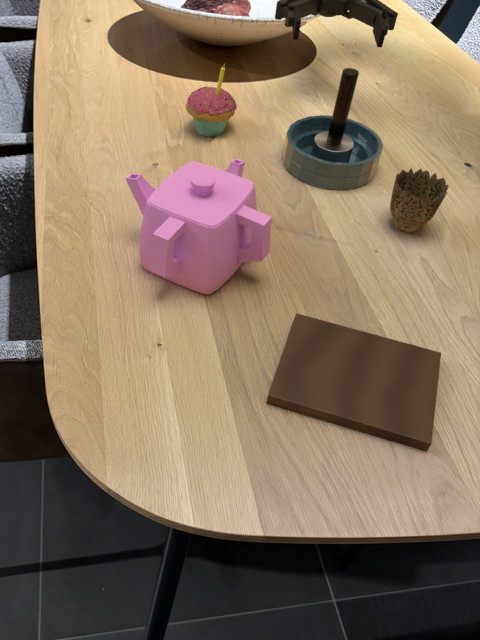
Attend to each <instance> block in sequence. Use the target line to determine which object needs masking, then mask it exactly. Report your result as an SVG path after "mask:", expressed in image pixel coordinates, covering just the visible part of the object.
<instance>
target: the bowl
mask: <svg viewBox="0 0 480 640" xmlns="http://www.w3.org/2000/svg"><path fill="white" fill-rule="evenodd" d="M331 120H332V115H324V114H323V115H322V114H321V115H319V114H318V115H311V116H306V117H303V118H299V119H297V120H296V121H294V122H292V124H290V125H289V127H288V129H287V130H286V135H285V141H284V146H283V151H282V164H283V167H284V168H285V170H286V171H287V172H288V173H289V174H290V175H291V176H293V177H294V178H295V179H297V180H299V181H300V182H303V183H305V184H307V185H309V186H312V187H315V188H319V189H323V190H331V191H332V190H333V191H346V190H353V189H358V188H362V187H363V186H365V185H368V184H369V183H370V182H371V181H372V180H374V178H375V174H376V171H377V168H378V165H379V162H380V159H381V154H382V151H383V148H384V144H383V140H382V138H381V137H380V136H379V135H378V133H376V131H375V130H373V129H372V128H371V127H369V126H367V125H365V124H363V123H362V122H359V121H356V120H353V119H350V118H348V119H347V123H346V127H345V131H344V134H345V135H347V136H348V137H350V138H351V139H352V140H353V142H354V146H353V150H352V154H351V157H350V161H349V163H341V162H330V161H326V160H322V159H318V158H316V157H314V156H311V152H312V147H313V143H314V138H315V136H316V135H317V134H319V133H321V132H326V131H329V128H330V124H331Z"/></svg>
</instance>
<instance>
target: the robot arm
mask: <svg viewBox="0 0 480 640" xmlns="http://www.w3.org/2000/svg"><path fill="white" fill-rule="evenodd" d="M318 15H319V16H321V17H324V18H333V17H336V16H338V17H339V16H341V17H343V18H346V19H347V20H351V19H354V20H357V21H359V22H361V23H363V24H364V25H366V26H368V27H370V28H372V35H373V38H374V41H375V45H376V47H377V48H379V49H380V48H383V45H384V42H385V38H386V36H388V33H389V31H394V30H395V26H396V23H397V19H398V15H399V13H398V12H397V11H395V10H394V9H393V8H392V7H389V6H388V5H387V4H385V3H383V2H382V1H381V0H277V1H276V6H275V13H274V19H275V20H277V21H280V20H282V19H285V21H284V26H285V27H286V28H291V27H292V40H293V41H299V36H300V31H301V25H302V19H303V18H306V17H308V16H313V17H316V16H318Z"/></svg>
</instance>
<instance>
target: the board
mask: <svg viewBox="0 0 480 640" xmlns="http://www.w3.org/2000/svg"><path fill="white" fill-rule="evenodd" d="M441 358H442V352H440V351H436V350H433V349H429V348H426V347H421V346H418V345H415V344H411V343H407V342H405V341H399V340H397V339H394V338H393V339H391V338H389V337H385V336H382V335H379V334H375V333H370V332H367V331H363V330H360V329H356V328H352V327H349V326H345V325H341V324H337V323H334V322H330V321H326V320H323V319H319V318H315V317H312V316H308V315H305V314H302V313H297V312H296V313H295V316H294V318H293V322H292V325H291V327H290V329H289V333H288V336H287V339H286V341H285V345H284V348H283V351H282V354H281V357H280V359H279V362H278V365H277V368H276V371H275V374H274V377H273V379H272V383H271V385H270V387H269V391H268V394H267V399H266V404H268V405H272V406H274V407H275V406H276V407H279V408H282V409H285V410H288V411H292V412H295V413H298V414H301V415H304V416H308V417H311V418H315V419H318V420H322V421H325V422H329V423H332V424H334V425H338V426H341V427H345V428H347V429H350V430H351V429H352V430H354V431H357V432H361V433H365V434H368V435H371V436H374V437H377V438H381V439H385V440H387V441H391V442H395V443H397V444H398V443H399V444H402V445H405V446H408V447H411V448H415V449H417V450H421V451H424V452H428V451H429V448H430V447H431V446H432V443H433V433H434V425H435V424H434V422H435V416H436V415H435V414H436V404H437V395H438V387H439V377H440V368H441Z"/></svg>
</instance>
